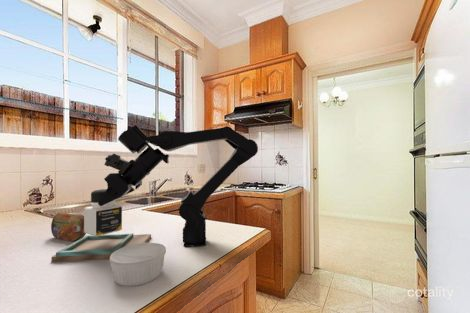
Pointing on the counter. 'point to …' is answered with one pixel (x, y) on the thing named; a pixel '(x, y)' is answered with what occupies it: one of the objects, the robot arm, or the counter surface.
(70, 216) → the tin
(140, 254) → the ramekin
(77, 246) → the socket board
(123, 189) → the robot arm
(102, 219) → the medicine bottle
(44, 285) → the counter surface
